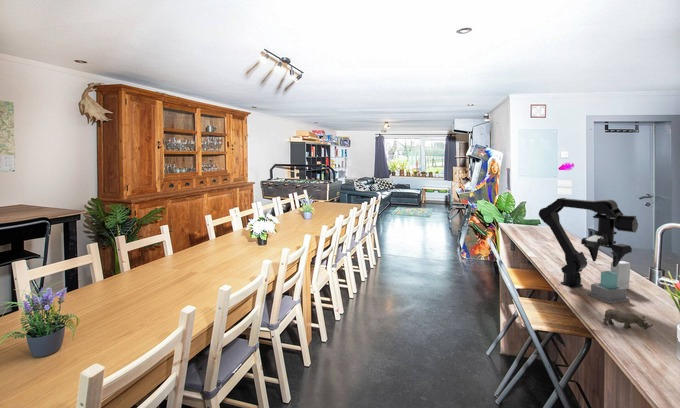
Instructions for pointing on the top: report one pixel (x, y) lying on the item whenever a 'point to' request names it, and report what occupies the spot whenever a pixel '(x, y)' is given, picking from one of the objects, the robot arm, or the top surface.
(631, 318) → the rhino figurine
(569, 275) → the robot arm
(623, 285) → the skincare box
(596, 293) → the socket block
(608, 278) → the teal peg
